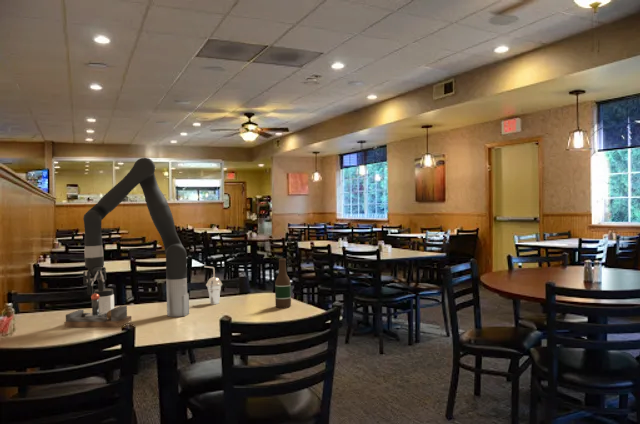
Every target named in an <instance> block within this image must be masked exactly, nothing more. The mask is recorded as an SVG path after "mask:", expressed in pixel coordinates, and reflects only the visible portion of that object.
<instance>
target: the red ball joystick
mask: <svg viewBox="0 0 640 424" xmlns="http://www.w3.org/2000/svg"><path fill="white" fill-rule="evenodd" d="M90 298H91V299H90V300H91V308H92V309H91V312H89V313H90V314H88V315H85V317H107V313H106V312H99V298H100V296H99V294H97V293H95V294H94V293H93V294H92V295H90Z"/></svg>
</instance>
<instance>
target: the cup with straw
mask: <svg viewBox="0 0 640 424" xmlns="http://www.w3.org/2000/svg"><path fill="white" fill-rule="evenodd" d="M203 268H209V269H212V271H213V275H212V276H213V277H210V278H209V279H208V281H207V283H206V284H205V286H206V287H207V291H208V297H209V303H210V305H219V304H220V299H221V298H220V295H221V288H222V286H223V285H224V284H223V283H222V281H221V280H220V278H219V277H216V273H215V272H216V270H215V267H214V266H208V265H203Z"/></svg>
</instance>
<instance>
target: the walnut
mask: <svg viewBox="0 0 640 424" xmlns="http://www.w3.org/2000/svg"><path fill="white" fill-rule="evenodd" d="M107 318H109V319H111V310H110V311H108V312H107Z"/></svg>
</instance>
